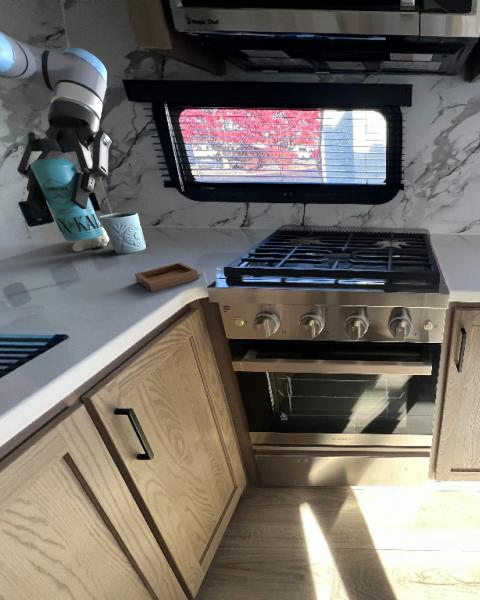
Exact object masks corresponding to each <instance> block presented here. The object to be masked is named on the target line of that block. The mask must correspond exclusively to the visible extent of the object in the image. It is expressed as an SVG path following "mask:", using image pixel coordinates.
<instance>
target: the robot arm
mask: <svg viewBox="0 0 480 600" xmlns="http://www.w3.org/2000/svg"><path fill="white" fill-rule="evenodd" d="M0 79H3V80H9V81H13V82H17V83H21V84H25V85H29V86H33V87H37V88H40V89H46V90H49V91H51V92H53V93H52V96H51V100H50V105H49V109H48V113H47V121H48V122H47V123H48V125H49V126H48V128H47V129H46V130H45V132H44V133H40V134H37V133H35V132H34V131H30V132H28V133H27V141H28V140H33V139H54V140H56V141H57V143H58V145H59V146H60V148H61V150H62V151H38V152H32V151H31V149H30V146H29V143H28V142H27V144H26V146H25V149H24V151H23V155H22V157H21V159H20V161H19V164H18V166H17V170H16V171H17V172H18V173H19V174H20V175H22V176H23V177H25V179H26V178H27V184H26V191H27V192H28V194H27V198H26V202H25V203H26V205H28V206H30V207H31V208H33V209H34V210H36V211H38V212H39V213H40V212H44V211H45V208H46V204H47V200H46V198H45V197H44V196H43V195H44V194H43V192H42V190H41V187H40V185H39V183H38V181H37V178H36V176H35V174H34V172H33V170H32V169H31V167H30V166H31V164H32V163H33V161H34V160H39V159H63V158H65V159H66V158H67V156H68V154H69V153H73V152H74V153H75V155H76V158H77V161H78V164H79V168H78V170H79V171H80V172H78V173H76V176H75V182H74V187H73V192H72V197H71V201H72V202H73V203H74V204H76V205H77V206H78V207H80V208H81V209H87V203H88V197H89V198H90V193H93V192H94V189H95V183H96V181H97V180H98V178H102V179H105V178H107V177H108V176H109V148H110V147H111V145H112V142H113V141H112V139H110V137H109V136H108V135H107V134H106V133H105V132H104V131H103V130H99V129H100V121H101V116H102V111H103V105H104V100H105V95H106V91H107V88H108V85H107V80H108V71H107V69H106V66H105V65H104V63H103V62H102V61H101V60H100V59H99V58H98V57H97V56H96V55H94V54H92V53H90V51H87V50H85V49H82V48H80V47H67V48H65V49H64V50H63V51H62V53H61V54H60V53H58V52H54V51H50V50H46V49H43V48H40V47H37V46H34V45H31V44H28V43H25V42H21V41H20V40H17V39H15V38H13V37H12V36H9V35H8V34H6V33H4V32H2V31H1V30H0ZM91 145H92V150H91V149H90V146H91ZM91 151H92V152H91Z"/></svg>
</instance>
